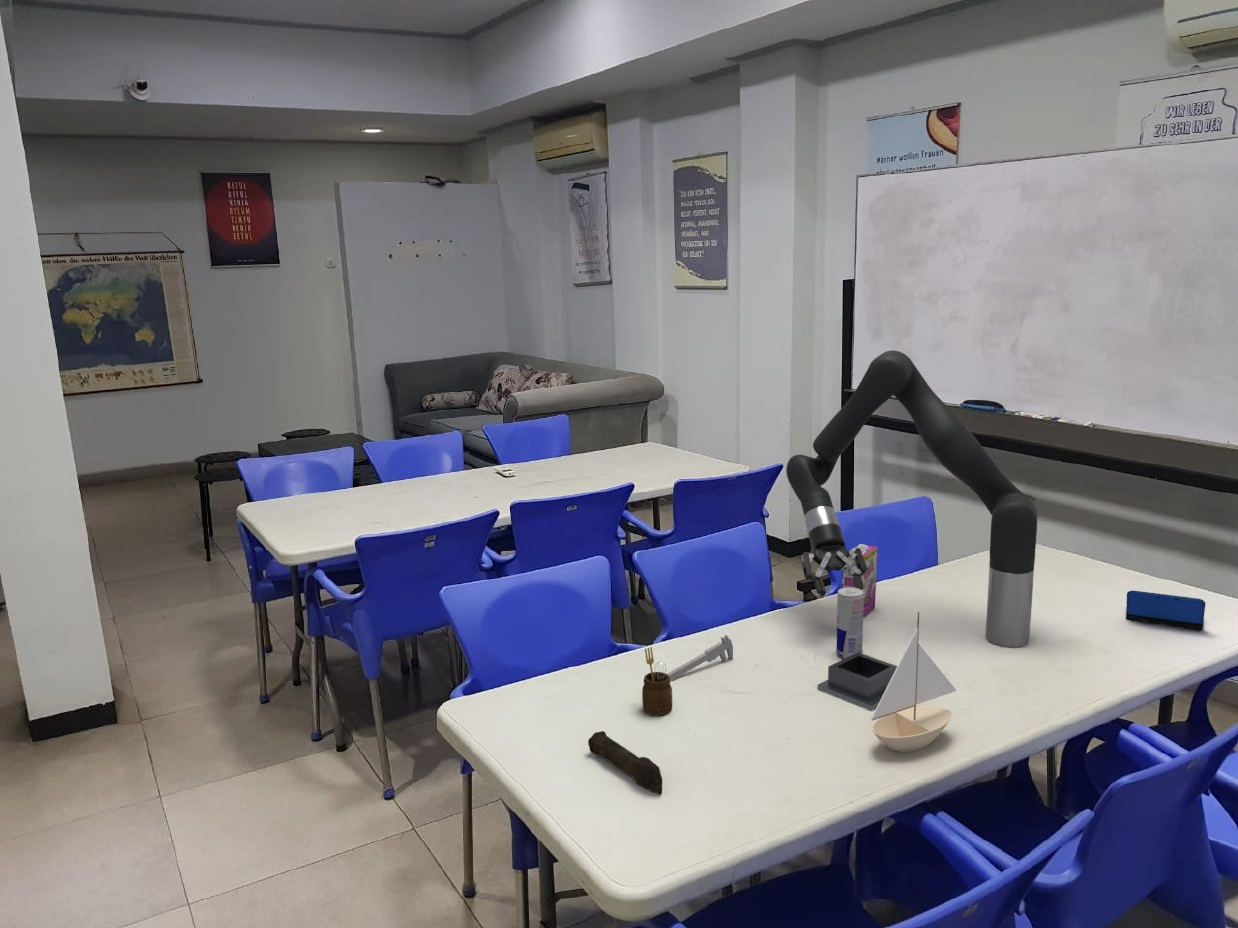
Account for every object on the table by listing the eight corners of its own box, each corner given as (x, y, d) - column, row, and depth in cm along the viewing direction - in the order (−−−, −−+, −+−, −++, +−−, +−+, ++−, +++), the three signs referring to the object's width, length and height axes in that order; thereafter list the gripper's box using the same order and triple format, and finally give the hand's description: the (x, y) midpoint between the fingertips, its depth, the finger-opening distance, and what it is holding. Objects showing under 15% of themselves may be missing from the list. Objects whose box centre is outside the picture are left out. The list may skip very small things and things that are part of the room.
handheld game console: (1202, 618, 220) (1206, 581, 218) (1202, 639, 209) (1206, 600, 207) (1127, 608, 228) (1130, 572, 226) (1123, 626, 217) (1127, 589, 215)
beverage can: (863, 651, 208) (864, 587, 204) (861, 661, 202) (862, 596, 199) (837, 648, 209) (838, 585, 206) (834, 658, 204) (836, 594, 201)
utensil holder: (652, 719, 180) (650, 662, 177) (636, 706, 185) (634, 650, 183) (678, 712, 182) (677, 655, 180) (662, 699, 188) (660, 644, 185)
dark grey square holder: (855, 669, 198) (855, 648, 197) (909, 689, 189) (909, 666, 188) (817, 689, 190) (817, 666, 189) (871, 710, 180) (872, 686, 179)
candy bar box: (859, 622, 224) (861, 557, 220) (840, 618, 227) (841, 554, 223) (876, 608, 232) (878, 545, 229) (857, 604, 235) (859, 542, 232)
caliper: (729, 659, 206) (729, 632, 205) (733, 660, 206) (733, 634, 204) (656, 684, 195) (655, 656, 194) (659, 686, 194) (659, 658, 193)
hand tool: (587, 754, 168) (586, 731, 167) (606, 747, 171) (604, 724, 170) (648, 802, 153) (647, 776, 152) (667, 793, 155) (666, 768, 154)
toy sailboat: (894, 633, 155) (857, 616, 162) (889, 769, 160) (854, 747, 168) (981, 608, 164) (943, 593, 172) (974, 737, 169) (937, 717, 177)
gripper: (798, 524, 213) (815, 588, 204) (857, 520, 215) (877, 583, 206) (790, 540, 219) (807, 602, 210) (848, 535, 221) (866, 597, 212)
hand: (841, 593), depth 208 cm, fingers open, 8 cm apart
